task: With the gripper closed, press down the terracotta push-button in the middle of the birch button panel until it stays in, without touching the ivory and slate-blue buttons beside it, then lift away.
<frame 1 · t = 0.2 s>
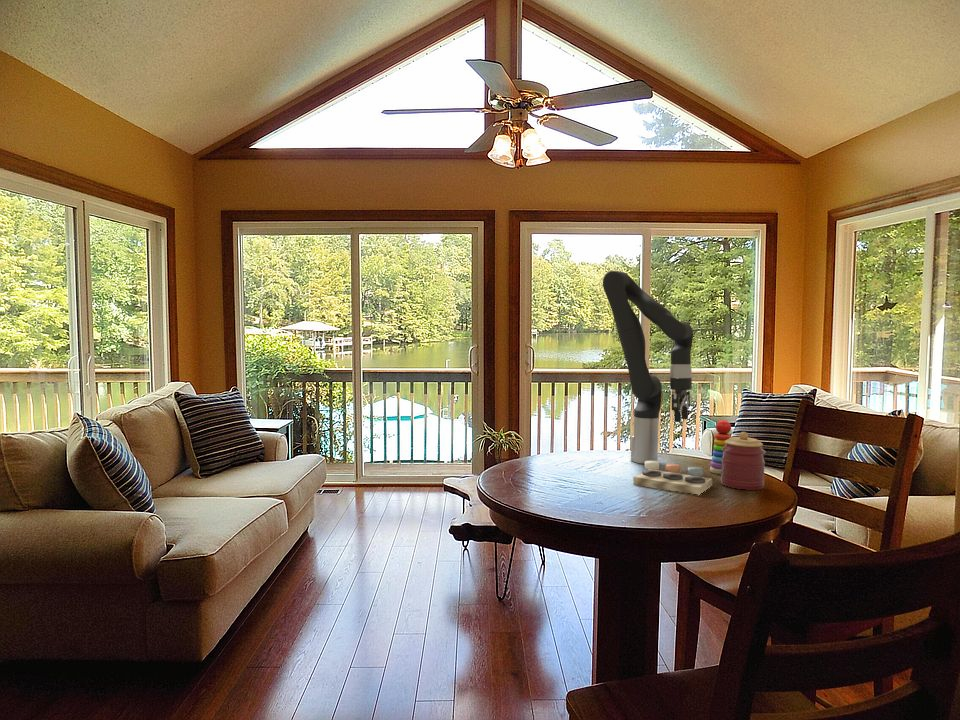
hand: (681, 420, 216), 17 cm above the table, tool pointing down, fingers open, 8 cm apart
terracotta button: (673, 468, 189), point 6 cm above the table, slide at 0.0 cm
canister: (742, 486, 190), on the table
button panel: (672, 485, 190), on the table
slate button: (695, 471, 185), point 6 cm above the table, slide at 0.0 cm
ivory button: (651, 465, 194), point 6 cm above the table, slide at 0.0 cm
stacking toy: (721, 473, 208), on the table
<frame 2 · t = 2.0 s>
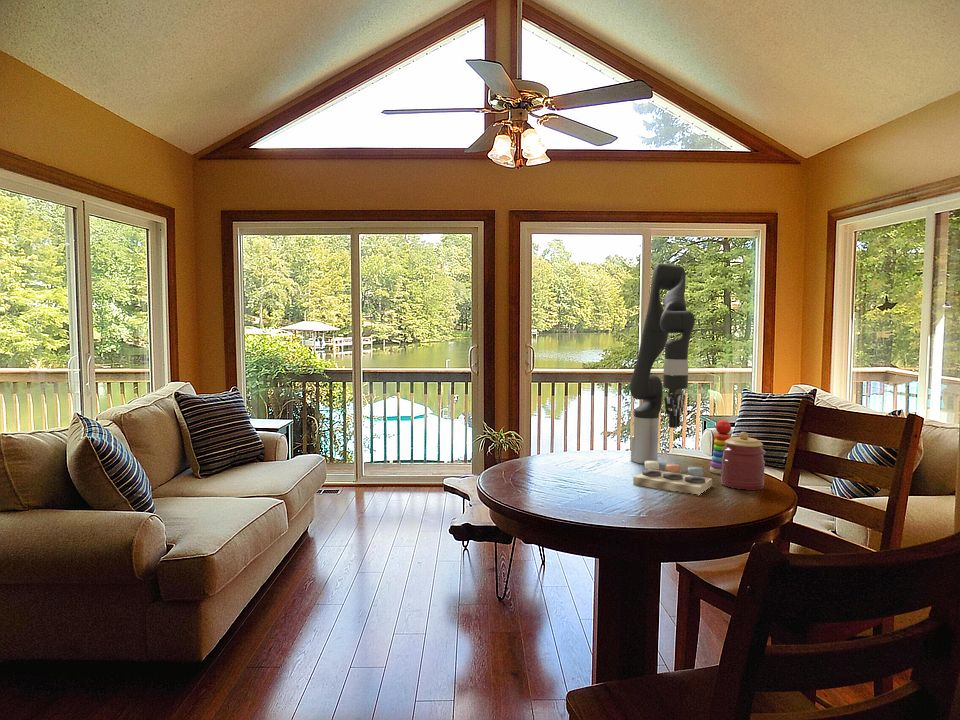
hand: (674, 426, 189), 19 cm above the table, tool pointing down, fingers open, 3 cm apart
nothing on the table moved.
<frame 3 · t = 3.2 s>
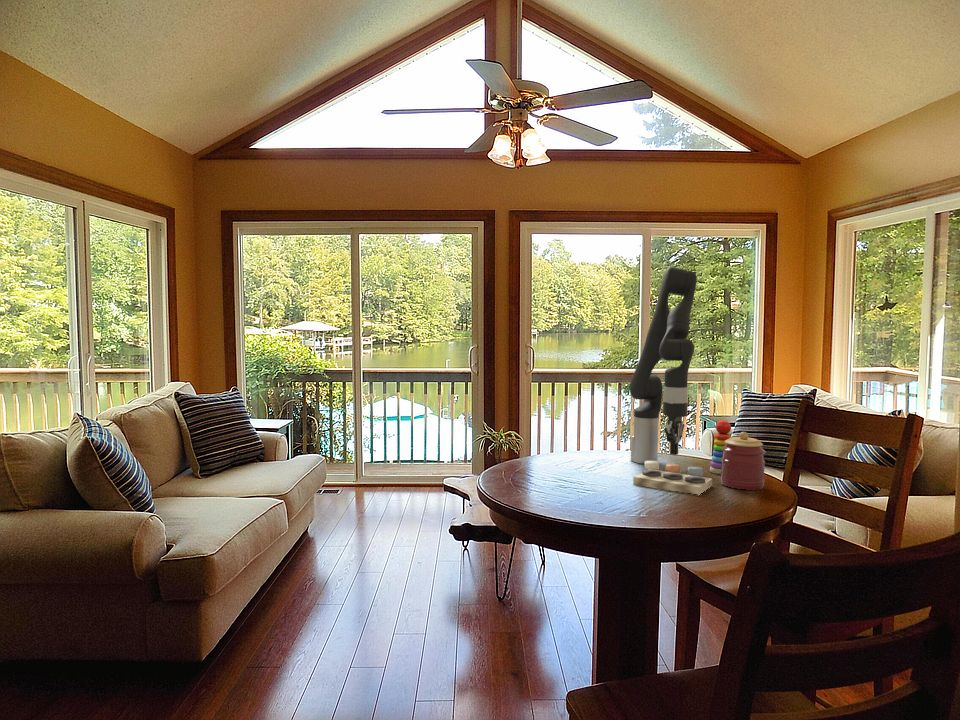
hand: (674, 454, 189), 10 cm above the table, tool pointing down, fingers closed
nothing on the table moved.
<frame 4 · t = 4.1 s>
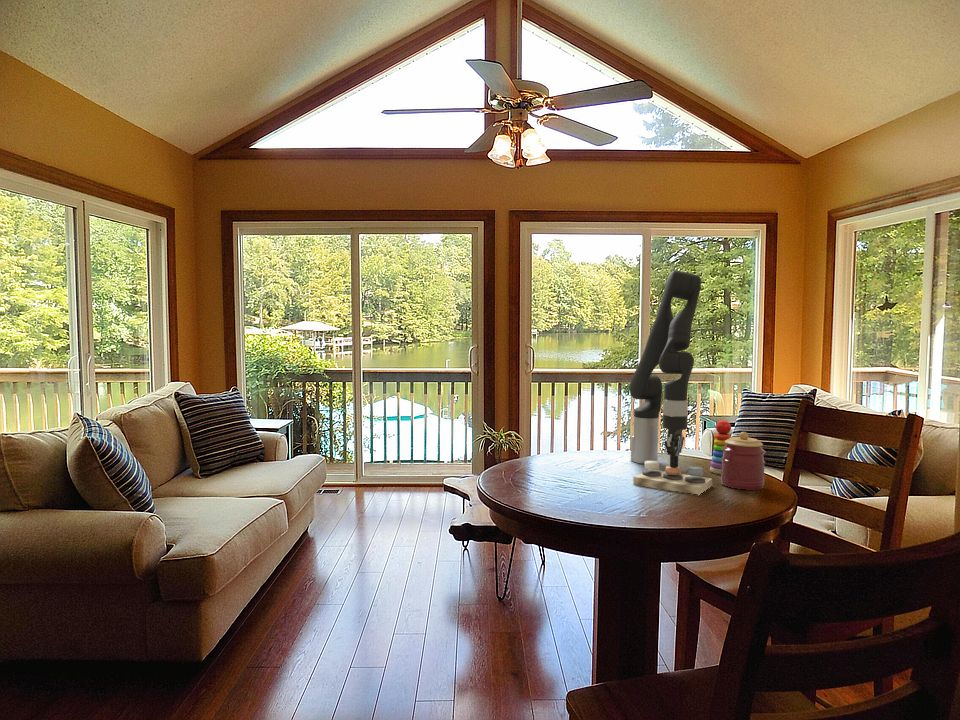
hand: (674, 467, 189), 6 cm above the table, tool pointing down, fingers closed
terracotta button: (673, 470, 189), point 5 cm above the table, slide at 0.7 cm, touching gripper
everything else where it was.
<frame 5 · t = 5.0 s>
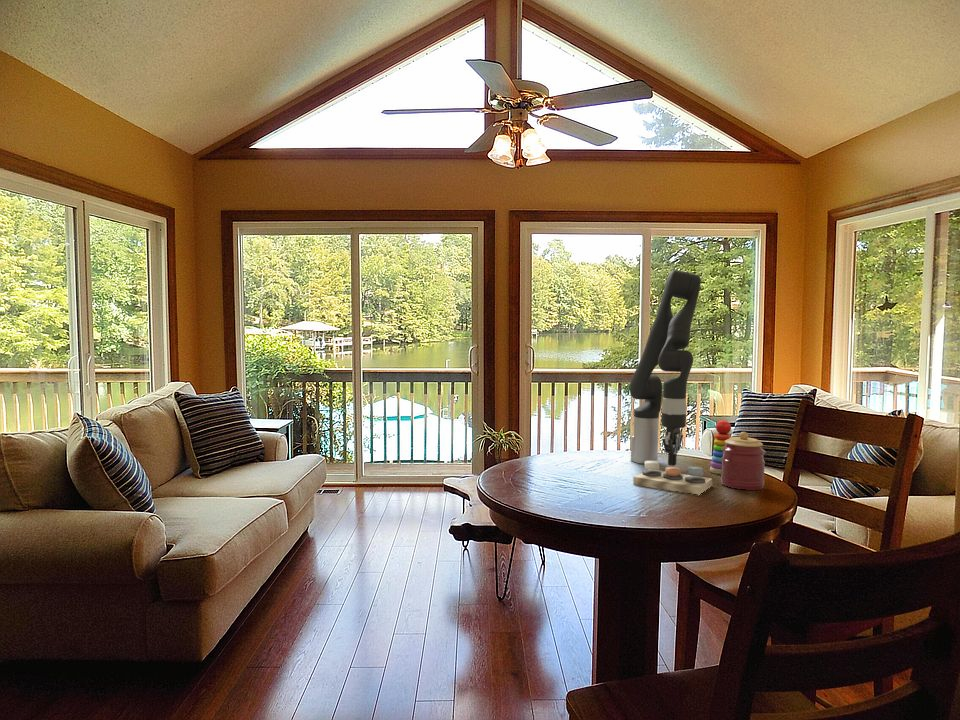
hand: (672, 465, 190), 7 cm above the table, tool pointing down, fingers closed
terracotta button: (673, 471, 189), point 5 cm above the table, slide at 1.1 cm
everything else where it was.
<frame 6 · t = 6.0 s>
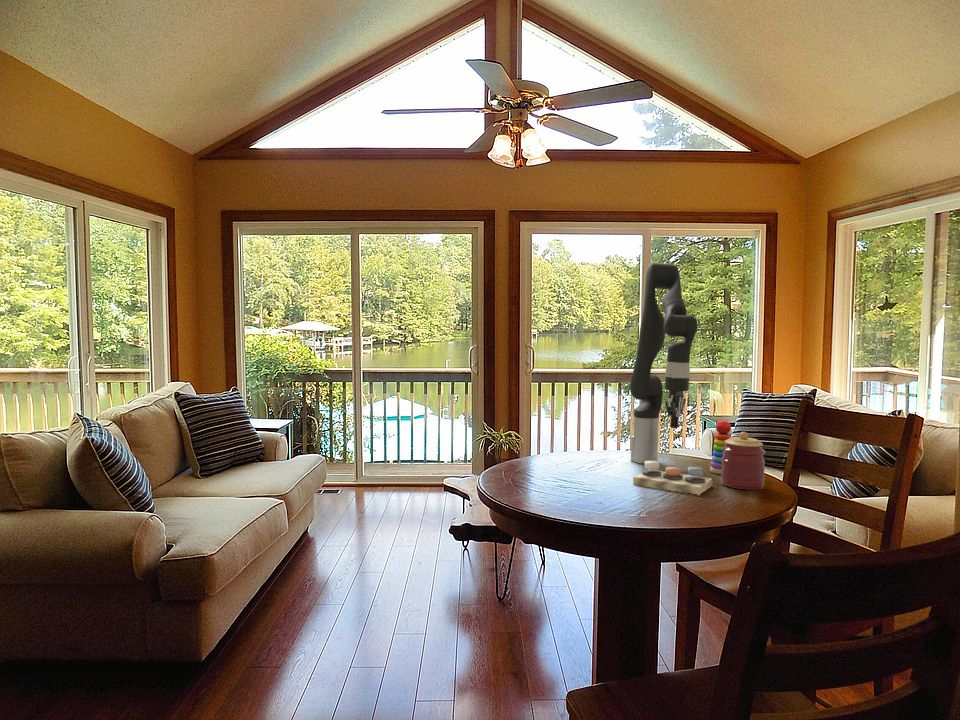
hand: (674, 427, 194), 18 cm above the table, tool pointing down, fingers closed
nothing on the table moved.
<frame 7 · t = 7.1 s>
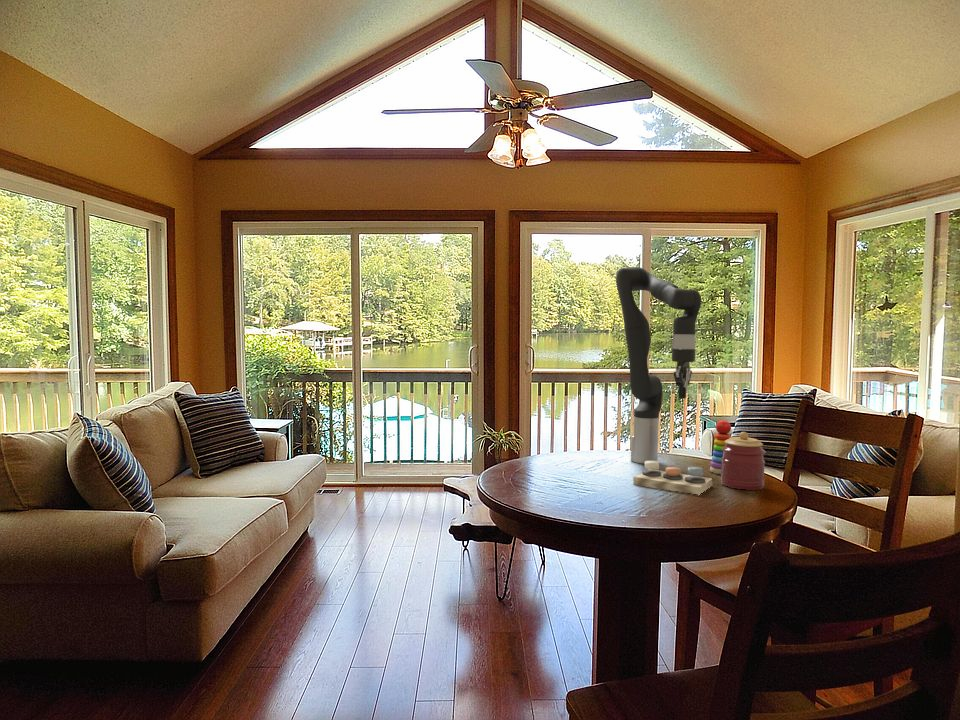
hand: (682, 398, 201), 27 cm above the table, tool pointing down, fingers closed
nothing on the table moved.
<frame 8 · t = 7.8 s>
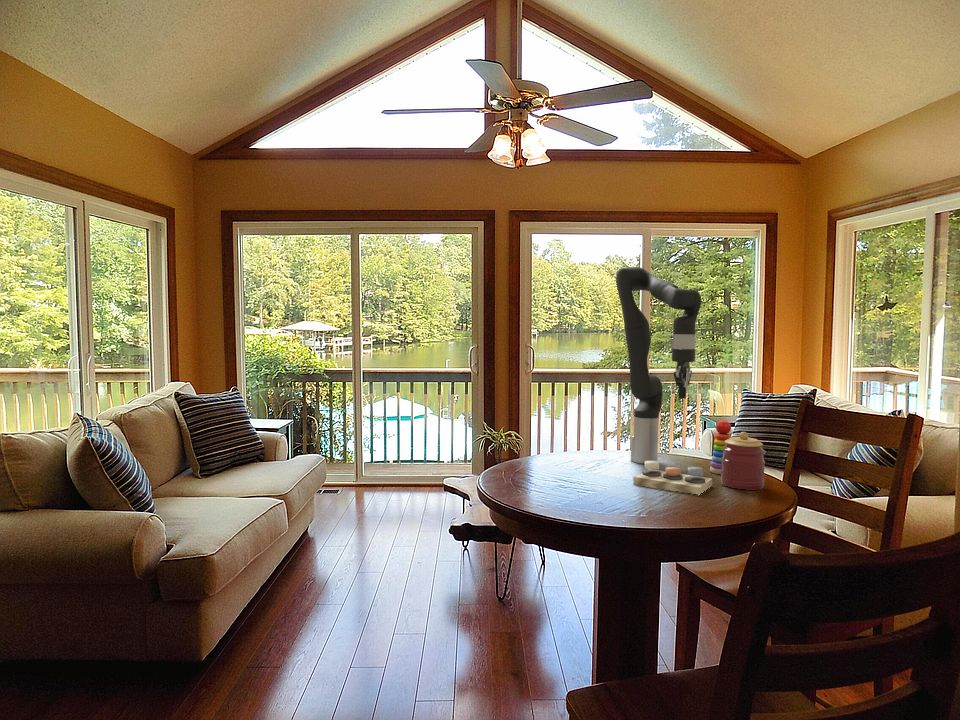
hand: (682, 398, 201), 27 cm above the table, tool pointing down, fingers closed
nothing on the table moved.
at the end: terracotta button slide at 1.1 cm; ivory button slide at 0.0 cm; slate button slide at 0.0 cm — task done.
